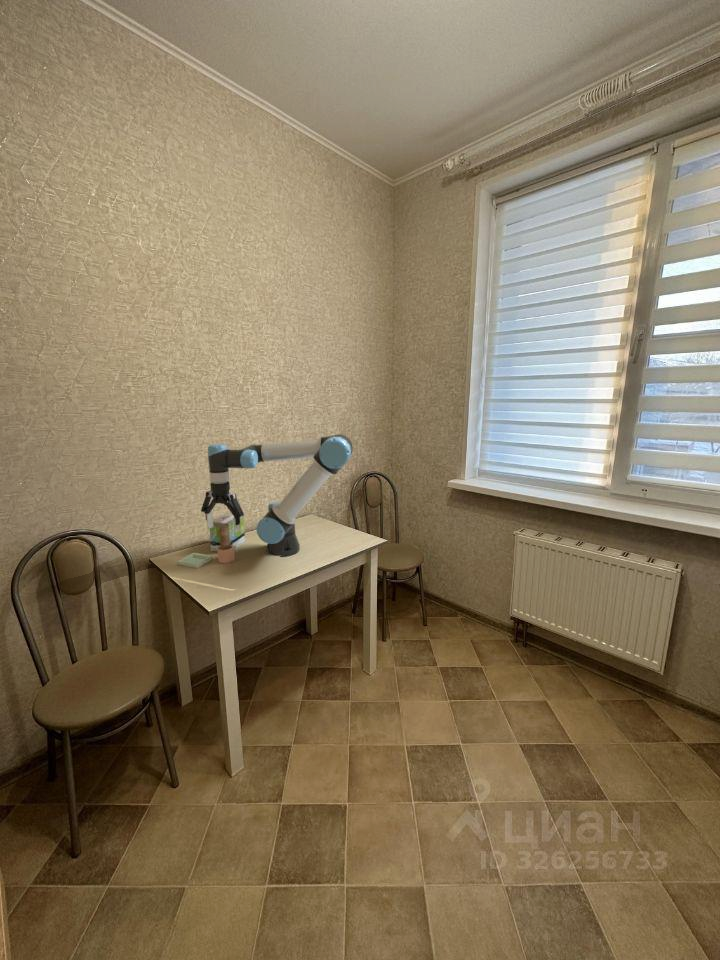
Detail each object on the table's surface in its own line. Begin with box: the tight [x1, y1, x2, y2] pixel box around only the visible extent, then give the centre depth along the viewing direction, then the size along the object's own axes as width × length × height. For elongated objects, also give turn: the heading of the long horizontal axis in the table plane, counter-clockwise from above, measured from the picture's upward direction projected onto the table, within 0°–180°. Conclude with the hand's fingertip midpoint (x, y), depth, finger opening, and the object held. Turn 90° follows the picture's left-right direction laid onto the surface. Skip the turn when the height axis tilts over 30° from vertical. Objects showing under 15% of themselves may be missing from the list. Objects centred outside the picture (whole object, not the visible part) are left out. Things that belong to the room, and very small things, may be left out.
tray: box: [177, 552, 213, 569], centre depth 164 cm, size 10×9×2 cm
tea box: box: [208, 512, 246, 552], centre depth 181 cm, size 15×10×15 cm, turn 168°
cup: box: [216, 545, 236, 564], centre depth 166 cm, size 7×7×6 cm
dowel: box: [219, 526, 230, 550], centre depth 164 cm, size 4×4×15 cm
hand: (223, 529), depth 163 cm, fingers open, 13 cm apart
